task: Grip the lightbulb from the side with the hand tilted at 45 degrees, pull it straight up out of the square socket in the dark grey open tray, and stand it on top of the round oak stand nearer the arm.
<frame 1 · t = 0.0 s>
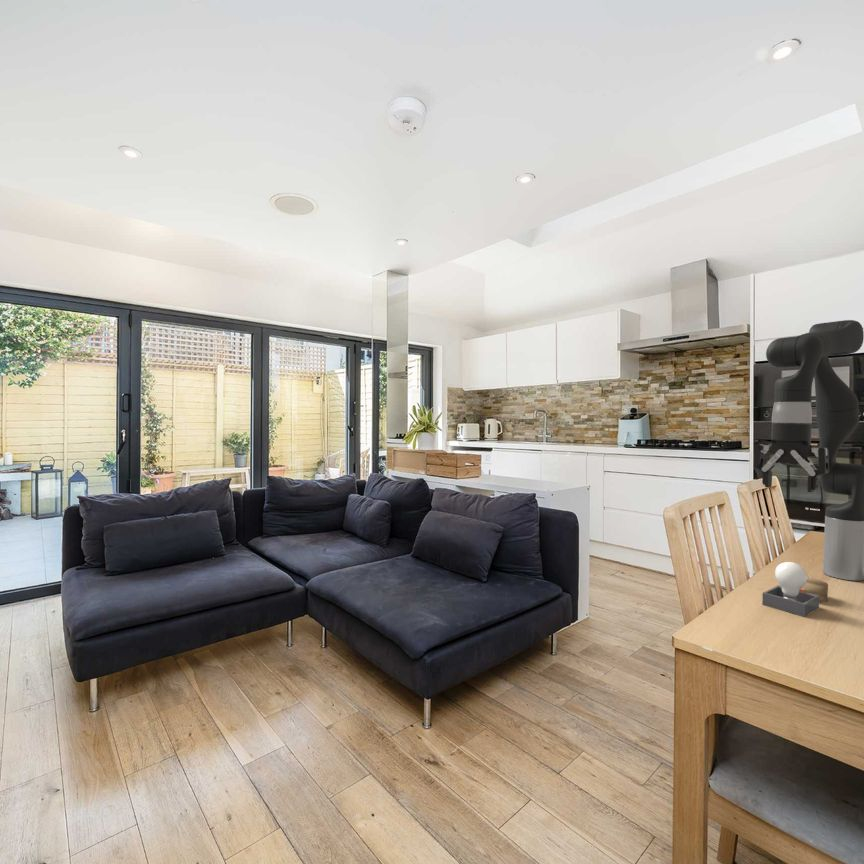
hand: (788, 489, 113), 29 cm above the table, tool pointing down, fingers open, 8 cm apart
lightbulb: (789, 607, 116), resting in dark grey open tray
dark grey open tray: (789, 606, 116), on the table
oak stand: (807, 596, 123), on the table
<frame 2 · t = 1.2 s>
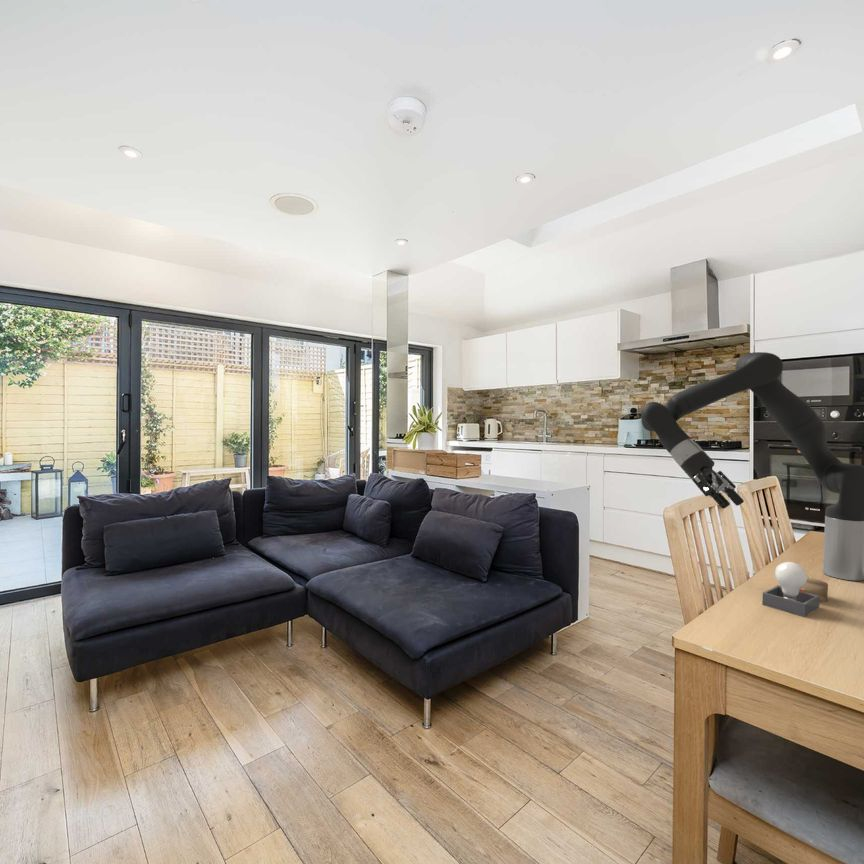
hand: (734, 505, 126), 23 cm above the table, tool tilted 45°, fingers open, 8 cm apart
nothing on the table moved.
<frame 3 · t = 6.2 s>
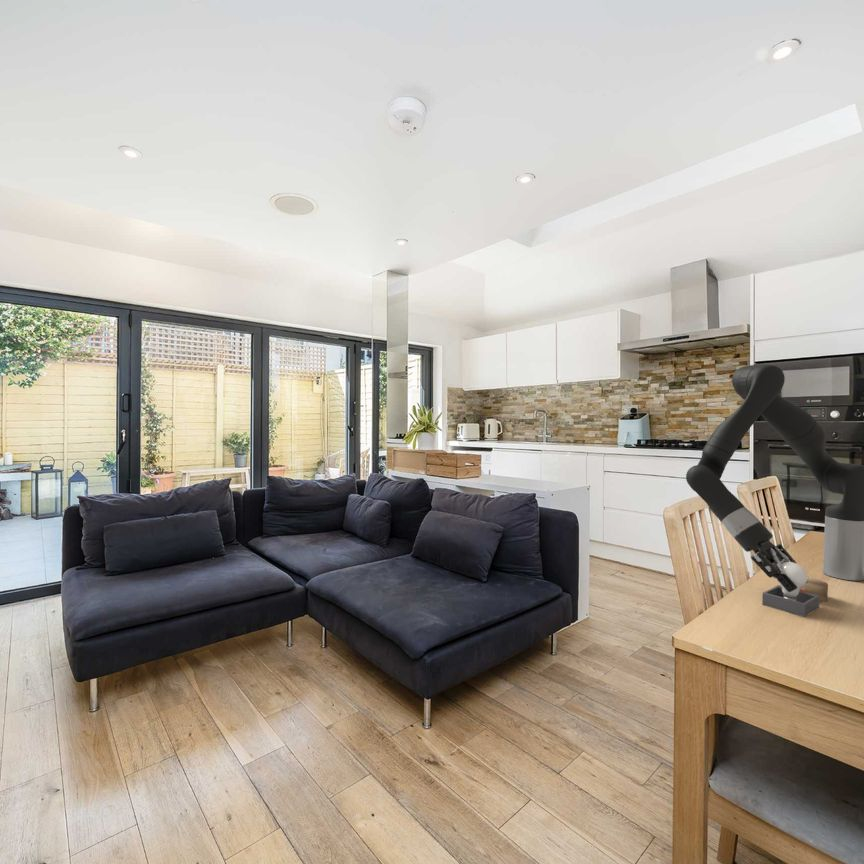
hand: (798, 587, 115), 5 cm above the table, tool tilted 45°, fingers closed on lightbulb, 6 cm apart
lightbulb: (789, 607, 116), resting in dark grey open tray, touching gripper
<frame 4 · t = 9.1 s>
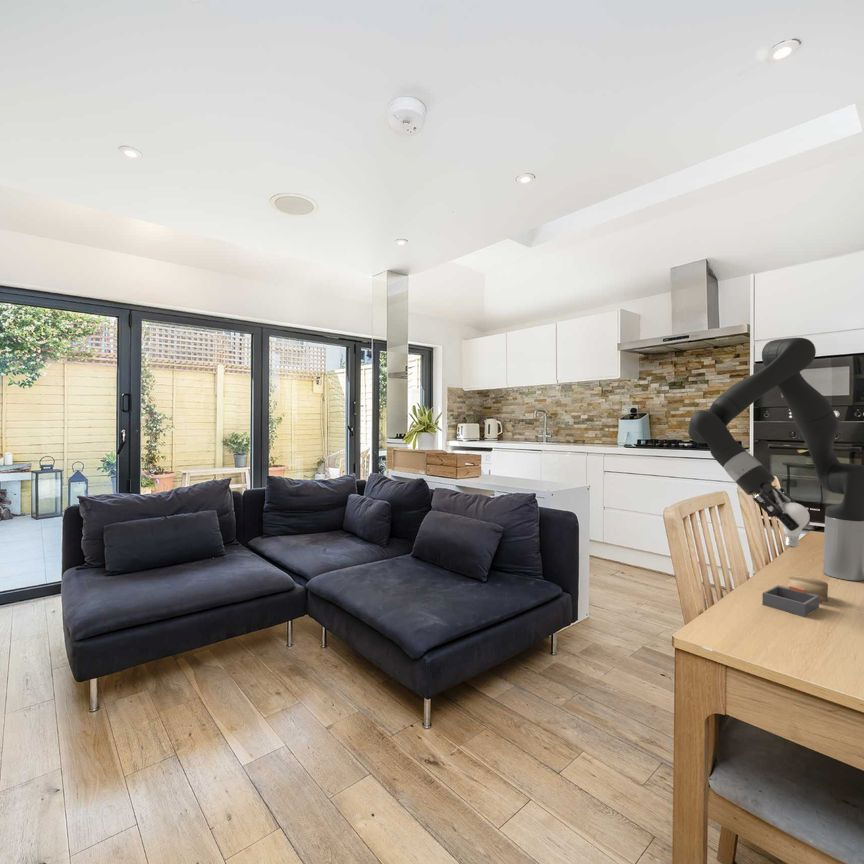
hand: (800, 527, 114), 20 cm above the table, tool tilted 45°, fingers closed on lightbulb, 6 cm apart
lightbulb: (791, 548, 116), point 14 cm above the table, touching gripper
when the fingers open (11 cm above the table, at t = 12.2 s): lightbulb drops 1 cm, resting on oak stand.
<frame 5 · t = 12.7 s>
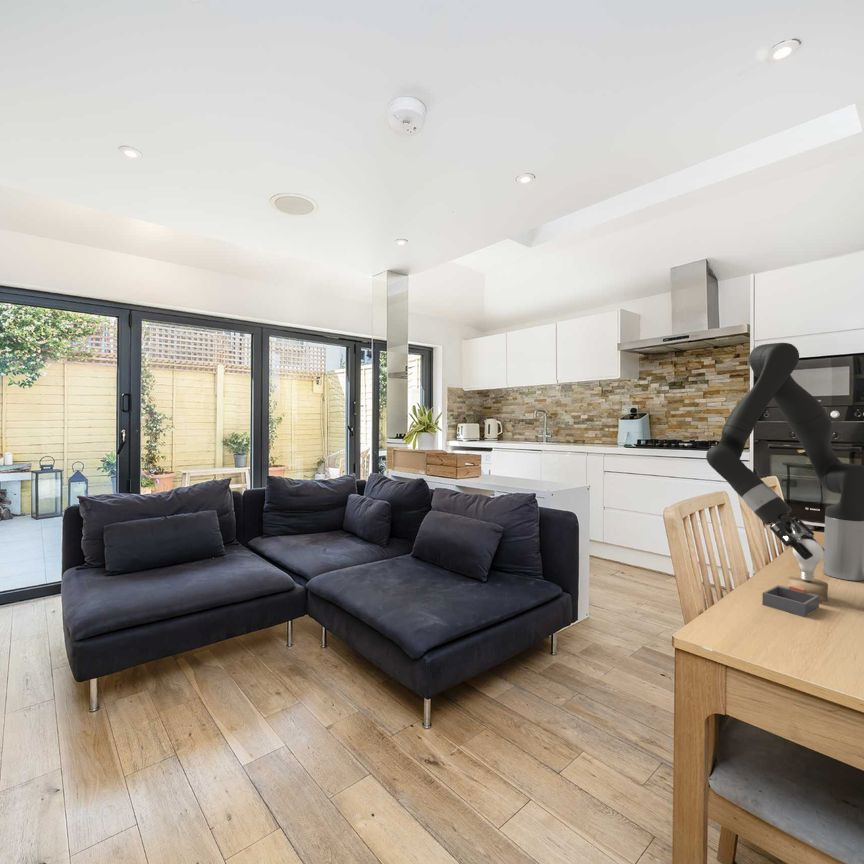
hand: (815, 555, 121), 11 cm above the table, tool tilted 45°, fingers open, 8 cm apart
lightbulb: (806, 582, 123), point 4 cm above the table, touching oak stand
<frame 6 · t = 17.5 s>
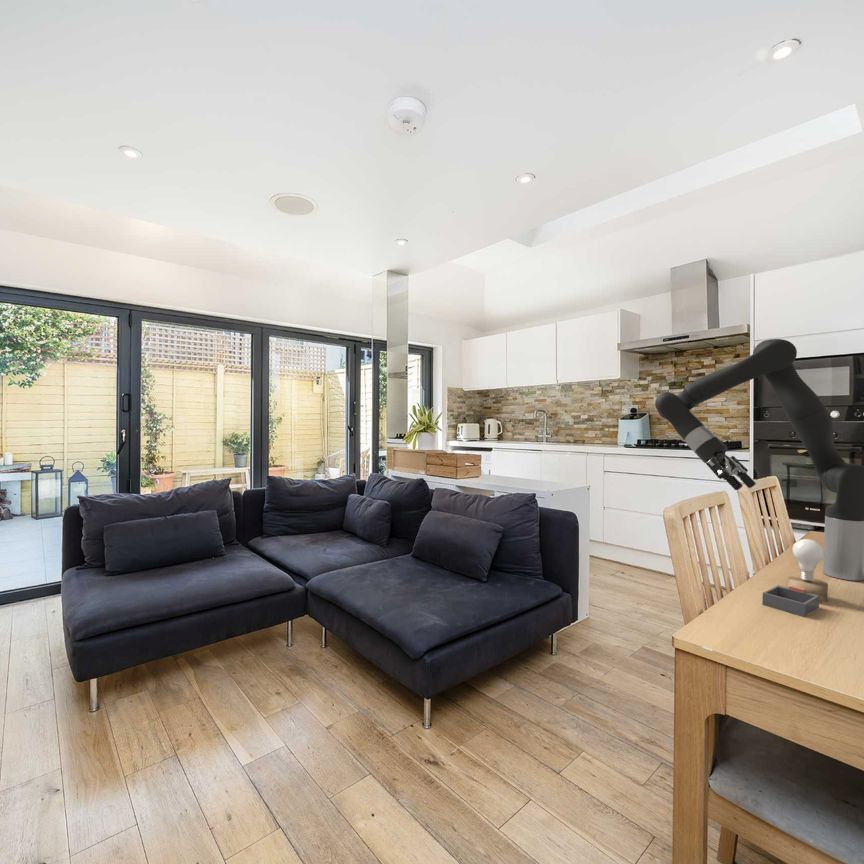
hand: (746, 487, 133), 27 cm above the table, tool tilted 45°, fingers open, 8 cm apart
nothing on the table moved.
at the end: lightbulb inside the target area (0.4 cm from its centre), point 3.8 cm above the table; lightbulb tilted 0°; the gripper is holding nothing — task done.
